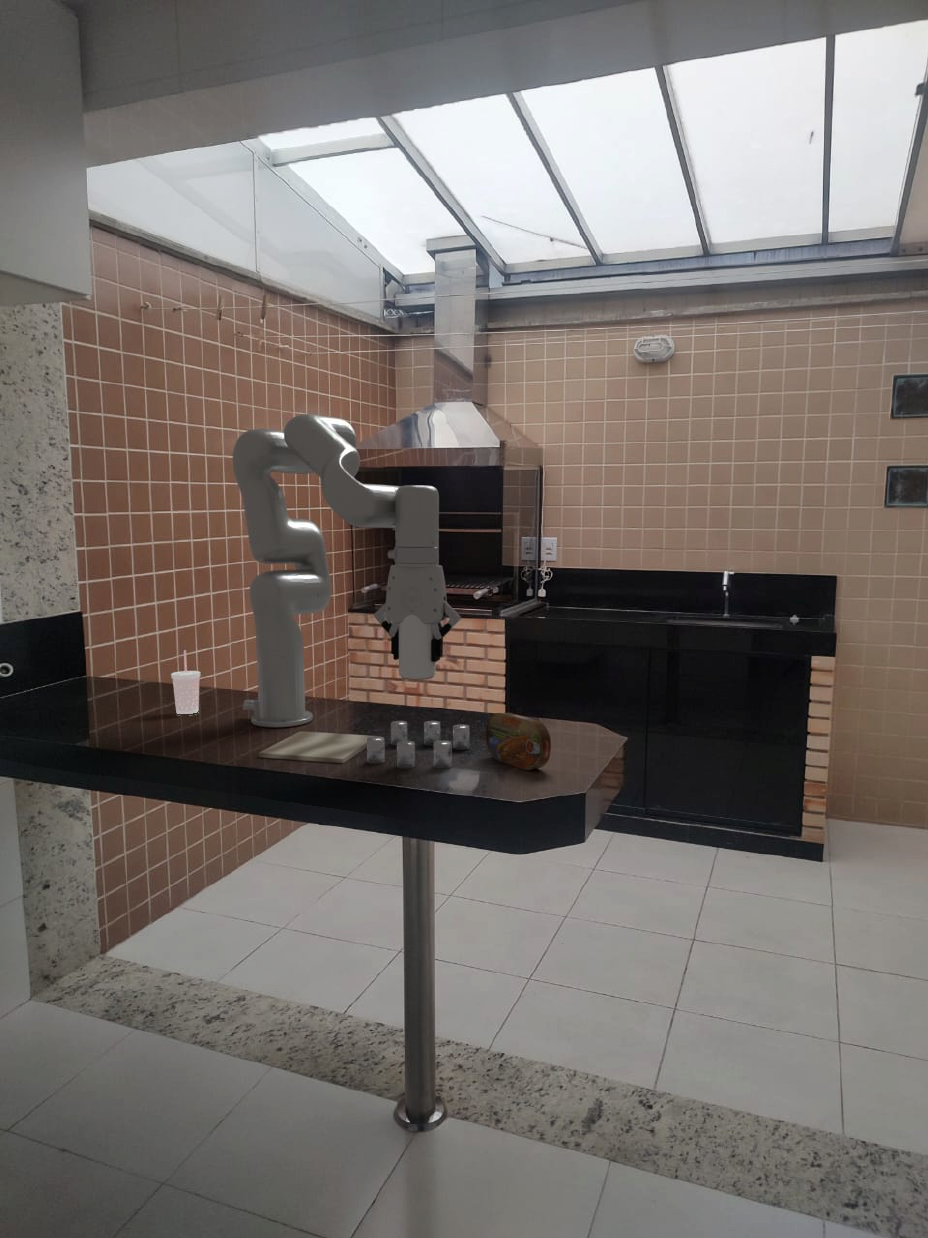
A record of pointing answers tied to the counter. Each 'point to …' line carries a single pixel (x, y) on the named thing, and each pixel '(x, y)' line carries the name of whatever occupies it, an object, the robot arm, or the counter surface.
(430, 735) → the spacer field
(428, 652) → the can
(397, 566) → the robot arm
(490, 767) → the counter surface
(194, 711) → the beverage cup
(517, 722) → the tin
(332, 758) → the board
